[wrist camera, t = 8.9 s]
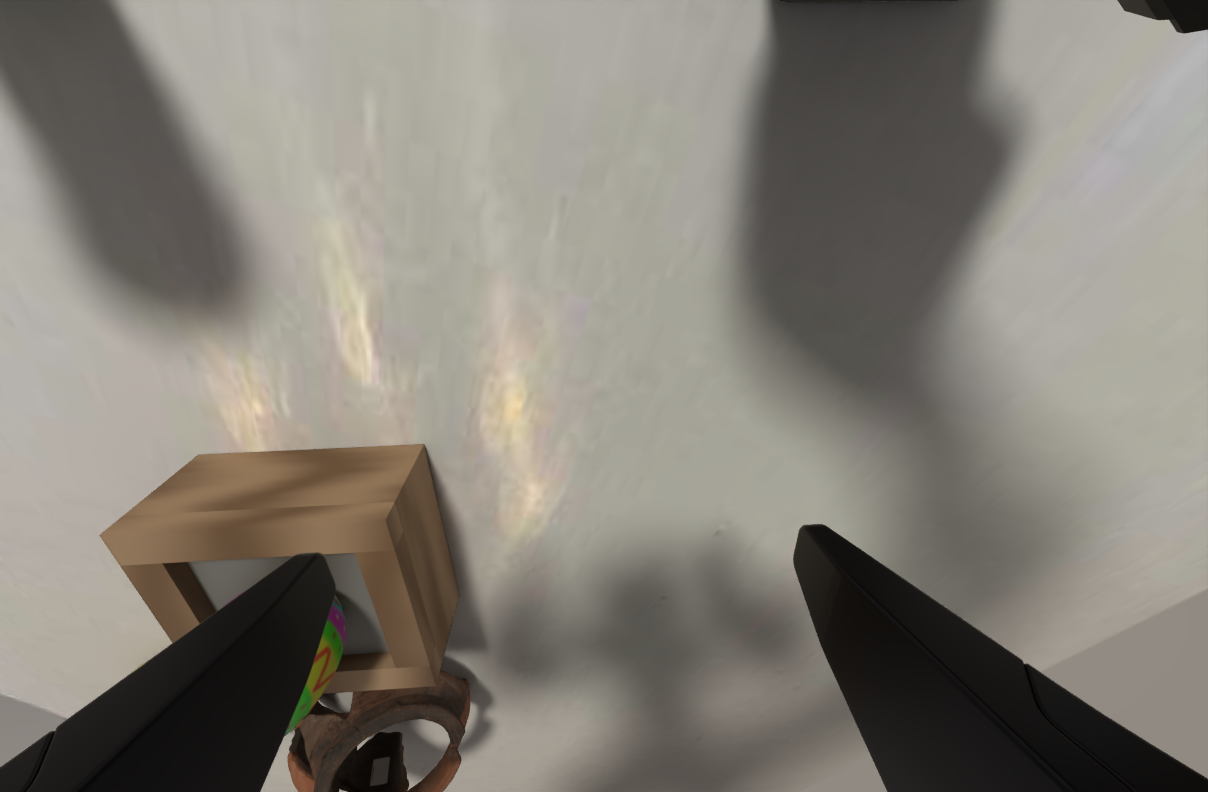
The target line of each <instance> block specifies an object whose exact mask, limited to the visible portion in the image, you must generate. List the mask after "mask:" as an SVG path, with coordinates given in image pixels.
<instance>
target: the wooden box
mask: <svg viewBox="0 0 1208 792" xmlns="http://www.w3.org/2000/svg"><path fill="white" fill-rule="evenodd" d="M99 536H100V537H101V538H102V540H103V541H104V543H105V544H106V546H107V547H108V549H109V550H110V552H111V553H112V555H113V556H114V558H115V559H116V560H117V562H118V563H119V565H120V566H121V568H122V569H123V571H124V572H125V574H126V575H127V577H128V578H129V580H130V581H131V582H132V584H133V585H134V587H135V588H136V590H137V591H138V593H139V594H140V596H141V597H142V599H143V600H144V602H145V603H146V604H147V606H148V607H149V609H150V610H151V612H152V613H153V615H154V616H155V618H156V619H157V621H158V622H159V624H160V625H161V626H162V628H163V629H164V631H165V632H166V634H167V635H168V637H169V638H170V640H171V641H172V643H174V642H175V641H177V640H178V639H179V638H181V637H182V636H183V635H185V634H186V633H188V632H189V631H190V630H192V629H193V628H195V627H196V626H197V625H199V624H200V623H202V622H203V621H204V620H206V619H207V618H208V617H210V616H211V615H213V614H214V613H215V612H217V611H218V610H220V609H221V608H222V607H223V606H225V605H226V604H227V603H228V602H229V601H231V600H232V599H233V598H235V597H236V596H238V595H239V594H241V593H242V592H244V591H246V590H247V589H249V588H250V587H251V586H253V585H254V584H256V583H257V582H258V581H260V580H261V579H262V578H264V577H265V576H267V575H268V574H269V573H271V572H272V571H274V570H275V569H276V568H278V567H279V566H280V565H282V564H283V563H285V562H286V561H287V560H289V559H290V558H292V557H293V556H295V555H297V554H300V553H313V552H319V553H322V554H323V555H324V556H325V558H326V561H327V563H328V566H329V568H330V571H331V573H332V576H333V578H334V581H335V584H336V593H335V595H336V596H337V598H338V599H339V601H340V603H341V605H342V608H343V611H344V615H345V620H346V638H345V645H344V649H343V653H342V656H341V659H340V662H339V665H338V667H337V669H336V672H335V674H334V676H333V678H332V679H331V681H330V683H329V685H328V686H327V688H326V690H325V691H324V693H323V694H325V693H340V692H355V691H370V690H385V689H400V688H415V687H430V686H436V684H437V680H438V676H439V672H440V669H441V665H442V661H443V657H444V653H445V649H446V645H447V641H448V638H449V634H450V630H451V626H452V622H453V618H454V614H455V610H456V607H457V603H458V599H459V592H458V588H457V584H456V579H455V575H454V571H453V567H452V562H451V558H450V554H449V549H448V545H447V541H446V536H445V532H444V528H443V524H442V519H441V515H440V511H439V506H438V502H437V498H436V493H435V489H434V485H433V481H432V476H431V472H430V468H429V463H428V459H427V455H426V450H425V446H424V444H420V445H399V446H378V447H356V448H335V449H314V450H292V451H271V452H249V453H228V454H207V455H197V456H196V457H195V458H194V459H193V460H191V461H190V462H189V463H188V464H186V465H185V466H184V467H183V468H181V469H180V470H179V471H178V472H177V473H175V474H174V475H173V476H172V477H170V478H169V479H168V480H167V481H165V482H164V483H163V484H162V485H161V486H159V487H158V488H157V489H156V490H154V491H153V492H152V493H151V494H149V495H148V496H147V497H146V498H144V499H143V500H142V501H141V502H140V503H138V504H137V505H136V506H135V507H133V508H132V509H131V510H130V511H128V512H127V513H126V514H125V515H124V516H122V517H121V518H120V519H119V520H117V521H116V522H115V523H114V524H112V525H111V526H110V527H109V528H108V529H106V530H105V531H104V532H103V533H101V534H100V535H99Z"/></svg>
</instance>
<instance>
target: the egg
mask: <svg viewBox="0 0 1208 792" xmlns="http://www.w3.org/2000/svg"><path fill="white" fill-rule="evenodd" d="M242 593H243V592H242ZM242 593H241V594H242ZM239 595H240V594H239ZM239 595H238V596H239ZM238 596H236V597H238ZM236 597H235V598H236ZM235 598H233V599H235ZM233 599H232V600H233ZM232 600H231V601H232ZM231 601H229V602H231ZM229 602H228V603H229ZM228 603H227V604H228ZM223 607H224V606H223ZM345 638H346V620H345V615H344V611H343V608H342V605H341V603H340V601H339V599H338V598H337V596H336V595H335V597H334V601H333V604H332V607H331V610H330V613H329V616H328V620H327V623H326V626H325V629H324V632H323V635H322V638H321V642H320V645H319V648H318V651H317V654H316V657H315V660H314V664H313V667H312V670H311V672H310V675H309V678H308V681H307V683H306V686H305V688H304V691H303V693H302V696H301V698H300V700H299V703H298V705H297V707H296V710H295V712H294V714H293V717H292V719H291V721H290V724H289V726H288V728H287V731H286V733H285V735H284V736H286V735H287V734H288V733H289V732H290V731H291V730H292V729H293V728H294V727H295V726H296V725H297V724H298V723H299V722H300V721H301V720H302V719H303V718H304V717H305V716H306V715H307V714H308V713H309V711H310V710H311V709H312V708H313V707H314V705H315V704H316V703H317V701H318V700H319V699H320V697H321V696H322V694H323V693H324V691H325V690H326V688H327V686H328V685H329V683H330V681H331V679H332V678H333V676H334V674H335V672H336V669H337V667H338V665H339V662H340V659H341V656H342V653H343V649H344V645H345Z"/></svg>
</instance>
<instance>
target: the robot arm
mask: <svg viewBox="0 0 1208 792" xmlns="http://www.w3.org/2000/svg"><path fill="white" fill-rule="evenodd" d="M781 1H784V2H861V1H957V0H781ZM1118 2H1119V3H1120V5H1121V6H1122V8H1123V9H1124V11H1127V12H1131V13H1134V14H1138V15H1141V16H1145V17H1148V18H1152V19H1155V20H1170V22H1171V23H1172V25H1173V26H1174V28H1175V29H1176V31H1177V32H1179V33H1190V32H1196V31H1202V30H1208V0H1118ZM793 562H794V568H795V571H796V574H797V577H798V580H799V583H800V586H801V589H802V592H803V595H804V598H805V601H806V603H807V606H808V609H809V612H810V615H811V618H812V621H813V624H814V627H815V630H816V633H817V636H818V638H819V641H820V644H821V647H822V649H823V651H824V654H825V656H826V658H827V660H828V663H829V665H830V667H831V669H832V671H833V674H834V676H835V678H836V680H837V682H838V685H839V687H840V689H841V691H842V693H843V696H844V698H845V700H846V702H847V704H848V706H849V709H850V711H851V713H852V715H853V717H854V720H855V722H856V724H857V726H858V728H859V731H860V733H861V735H862V737H863V739H864V741H865V744H866V746H867V748H868V750H869V752H870V755H871V757H872V759H873V761H874V763H875V766H876V768H877V770H878V772H879V774H880V776H881V778H882V781H883V783H884V785H885V787H886V790H887V792H1208V779H1207V778H1206V777H1204V776H1202V775H1201V774H1199V773H1197V772H1196V771H1194V770H1193V769H1191V768H1189V767H1187V766H1186V765H1184V764H1183V763H1181V762H1179V761H1178V760H1176V759H1174V758H1173V757H1171V756H1169V755H1168V754H1166V753H1165V752H1163V751H1161V750H1160V749H1158V748H1156V747H1155V746H1153V745H1151V744H1150V743H1148V742H1147V741H1145V740H1143V739H1142V738H1140V737H1139V736H1137V735H1136V734H1134V733H1133V732H1131V731H1129V730H1128V729H1126V728H1125V727H1123V726H1121V725H1120V724H1118V723H1117V722H1115V721H1113V720H1112V719H1110V718H1108V717H1107V716H1105V715H1104V714H1102V713H1101V712H1099V711H1098V710H1096V709H1095V708H1093V707H1092V706H1090V705H1088V704H1087V703H1086V702H1084V701H1083V700H1081V699H1080V698H1078V697H1077V696H1075V695H1073V694H1072V693H1070V692H1069V691H1067V690H1066V689H1064V688H1063V687H1061V686H1060V685H1058V684H1057V683H1055V682H1054V681H1052V680H1051V679H1050V678H1048V677H1047V676H1045V675H1044V674H1042V673H1041V672H1039V671H1038V670H1036V669H1035V668H1033V667H1032V666H1031V665H1029V664H1024V663H1023V661H1022V660H1021V659H1020V658H1019V657H1017V656H1016V655H1014V654H1013V653H1011V652H1010V651H1008V650H1007V649H1005V648H1004V647H1003V646H1001V645H1000V644H998V643H997V642H995V641H994V640H992V639H991V638H989V637H988V636H986V635H985V634H984V633H982V632H981V631H979V630H978V629H976V628H975V627H973V626H972V625H970V624H969V623H967V622H966V621H965V620H963V619H962V618H960V617H959V616H957V615H956V614H954V613H953V612H951V611H950V610H948V609H947V608H946V607H944V606H943V605H941V604H940V603H938V602H937V601H935V600H934V599H932V598H931V597H929V596H928V595H927V594H925V593H924V592H922V591H921V590H919V589H918V588H916V587H915V586H913V585H912V584H910V583H909V582H908V581H906V580H905V579H903V578H902V577H900V576H899V575H897V574H896V573H894V572H893V571H891V570H890V569H888V568H887V567H886V566H884V565H883V564H881V563H880V562H878V561H877V560H875V559H874V558H872V557H871V556H869V555H868V554H867V553H865V552H864V551H862V550H861V549H859V548H858V547H856V546H855V545H853V544H852V543H850V542H849V541H848V540H846V539H845V538H843V537H842V536H840V535H839V534H837V533H836V532H834V531H833V530H831V529H830V528H829V527H827V526H825V525H823V524H813V525H803V526H802V527H801V528H800V530H799V533H798V538H797V542H796V547H795V551H794V556H793ZM335 593H336V584H335V581H334V578H333V576H332V573H331V571H330V568H329V566H328V563H327V561H326V558H325V556H324V555H323V554H322V553H319V552H313V553H300V554H297V555H295V556H293V557H292V558H290V559H289V560H287V561H286V562H285V563H283V564H282V565H280V566H279V567H278V568H276V569H275V570H274V571H272V572H271V573H269V574H268V575H267V576H265V577H264V578H262V579H261V580H260V581H258V582H257V583H256V584H254V585H253V586H251V587H250V588H249V589H247V590H246V591H244V592H243V593H242V594H240V595H239V596H238V597H236V598H235V599H233V600H232V601H231V602H229V603H228V604H226V605H225V606H224V607H222V608H221V609H220V610H218V611H217V612H215V613H214V614H213V615H211V616H210V617H208V618H207V619H206V620H204V621H203V622H202V623H200V624H199V625H197V626H196V627H195V628H193V629H192V630H190V631H189V632H188V633H186V634H185V635H183V636H182V637H181V638H179V639H178V640H177V641H175V642H174V643H172V644H171V645H170V646H168V647H167V648H165V649H164V650H163V651H161V652H160V653H159V654H157V655H156V656H154V657H153V658H152V659H150V660H149V661H147V662H146V663H145V664H143V665H142V666H141V667H139V668H138V669H136V670H135V671H134V672H132V673H131V674H129V675H128V676H127V677H125V678H124V679H122V680H121V681H120V682H118V683H117V684H116V685H114V686H113V687H111V688H110V689H109V690H107V691H106V692H104V693H103V694H102V695H100V696H99V697H98V698H96V699H95V700H93V701H92V702H91V703H89V704H88V705H86V706H85V707H84V708H82V709H81V710H79V711H78V712H77V713H75V714H74V715H73V716H71V717H70V718H68V719H67V720H66V721H64V722H63V723H62V724H60V725H59V726H58V727H57V728H56V731H51V732H49V733H48V734H46V735H45V736H43V737H42V738H41V739H39V740H38V741H36V742H35V743H34V744H32V745H31V746H29V747H28V748H27V749H25V750H24V751H23V752H21V753H20V754H18V755H17V756H16V757H14V758H13V759H11V760H10V761H9V762H7V763H6V764H4V765H3V766H1V767H0V792H260V791H261V789H262V786H263V784H264V782H265V779H266V777H267V775H268V772H269V770H270V768H271V765H272V763H273V761H274V758H275V756H276V754H277V752H278V749H279V747H280V745H281V742H282V740H283V738H284V735H285V733H286V731H287V728H288V726H289V724H290V721H291V719H292V717H293V714H294V712H295V710H296V707H297V705H298V703H299V700H300V698H301V696H302V693H303V691H304V688H305V686H306V683H307V681H308V678H309V675H310V672H311V670H312V667H313V664H314V660H315V657H316V654H317V651H318V648H319V645H320V642H321V638H322V635H323V632H324V629H325V626H326V623H327V620H328V616H329V613H330V610H331V607H332V604H333V601H334V597H335Z"/></svg>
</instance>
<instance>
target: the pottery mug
mask: <svg viewBox="0 0 1208 792" xmlns="http://www.w3.org/2000/svg"><path fill="white" fill-rule="evenodd" d="M469 711H470V690H469V683H468V681H467V680H466V679H465V680H461V679H459V678H457V677H455V676H453V675H451V674H449V673H447V672H445V671H440V672H439V676H438V680H437V684H436V686H430V687H415V688H400V689H385V690H370V691H355V692H353V699H352V704H351V710H350V713H349V714H345V713H338V712H335V711H333V710H331V709H329V708H327V707H324V706H322V705H321V704H320V703H319V702H318V701H317V703H316V704H315V705H314V707H313V708H312V709H311V710H310V711H309V713H308V714H307V715H306V716H305V717H304V718H303V719H302V720H301V721H300V722H299V723H298V724H297V725H296V726H295V727H296V729H295V735H294V737H293V739H292V744H291V746H290V748H289V751H290V753H289V754H288V767H289V771H290V774H291V778H292V781H293V783H294V785H295V787H296V789H297V790H298V792H339V789H341V790H344V791H347V792H443V791H444V790H445V789H446V788H447V786H448V785H449V783H450V782H451V781H452V779H453V778H454V776H455V774H456V772H457V770H458V768H459V766H460V763H461V756H460V754H459V753H458V750H457V748H458V746H459V744H460V742H461V739H462V737H463V735H464V734H465V727H466V723H467V719H468V716H469ZM414 719H425V720H429V721H433V722H436V723H438V724H439V725H441V726H443V727H444V728H445V730H446V731H447V732H448V734H449V738H450V743H449V746H448V748H447V750H446V752H445V754H444V756H443V758H442V759H441V760H440V761H439V763H438V765H437V766H436V767H435V768H434V769H433V770H432V771H431V772H430V773H429V774H428V775H427V776H426V777H425V778H424V779H423V780H422V781H421V782H419V783H418V784H417V785H415V786H414V787H412V788H411V789H409V790H408V787H409V781H408V779H407V772H406V768H405V766H404V764H403V750H404V747H403V745H402V733H400V732H393V733H384V732H379V733H377V734H376V735H375V736H374V737H373V738H372V739H370V740H368V741H367V742H366V743H365V744H364V745H363V746H362V747H361V748H360V749H359V750H357V746H358V745H359V744H360V743H361V742H362V741H363V740H365V739H366V738H367V737H369V736H371V735H372V734H374V733H376V732H378V731H380V730H382V729H384V728H386V727H388V726H391V725H393V724H395V723H399V722H402V721H406V720H414ZM407 790H408V791H407Z"/></svg>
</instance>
